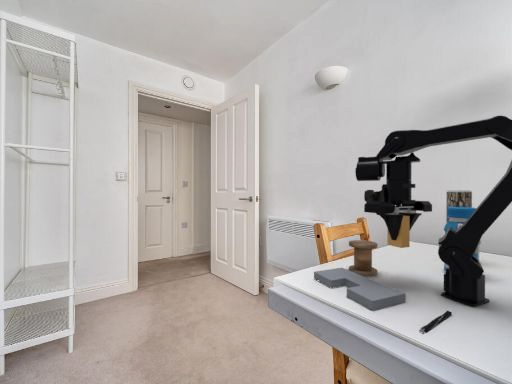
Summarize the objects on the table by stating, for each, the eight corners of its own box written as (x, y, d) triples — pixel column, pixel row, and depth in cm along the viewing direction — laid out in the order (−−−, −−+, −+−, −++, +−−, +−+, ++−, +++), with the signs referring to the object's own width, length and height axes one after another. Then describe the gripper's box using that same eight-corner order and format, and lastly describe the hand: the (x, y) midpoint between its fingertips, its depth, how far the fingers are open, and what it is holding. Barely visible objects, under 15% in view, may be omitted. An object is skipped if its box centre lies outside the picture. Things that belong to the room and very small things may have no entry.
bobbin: (383, 274, 73) (383, 244, 73) (363, 278, 70) (363, 246, 70) (362, 266, 80) (362, 239, 80) (343, 269, 77) (343, 241, 77)
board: (405, 302, 55) (405, 293, 55) (372, 310, 51) (372, 301, 51) (341, 274, 73) (341, 267, 73) (314, 278, 69) (314, 271, 69)
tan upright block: (409, 246, 63) (409, 215, 63) (401, 247, 62) (401, 216, 62) (395, 243, 67) (395, 214, 67) (387, 244, 66) (387, 214, 66)
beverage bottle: (436, 272, 75) (436, 206, 75) (454, 269, 78) (454, 206, 78) (468, 281, 67) (469, 208, 67) (487, 277, 70) (487, 207, 70)
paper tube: (461, 260, 88) (462, 190, 88) (477, 265, 82) (477, 190, 82) (441, 259, 89) (442, 190, 89) (455, 265, 82) (455, 190, 82)
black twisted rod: (424, 336, 42) (424, 330, 42) (417, 333, 43) (417, 328, 43) (452, 316, 49) (452, 311, 49) (446, 314, 50) (446, 309, 50)
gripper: (395, 181, 76) (394, 232, 76) (348, 180, 68) (348, 236, 68) (433, 180, 65) (433, 239, 65) (383, 179, 58) (383, 245, 58)
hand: (398, 239), depth 65 cm, fingers closed on tan upright block, 3 cm apart
